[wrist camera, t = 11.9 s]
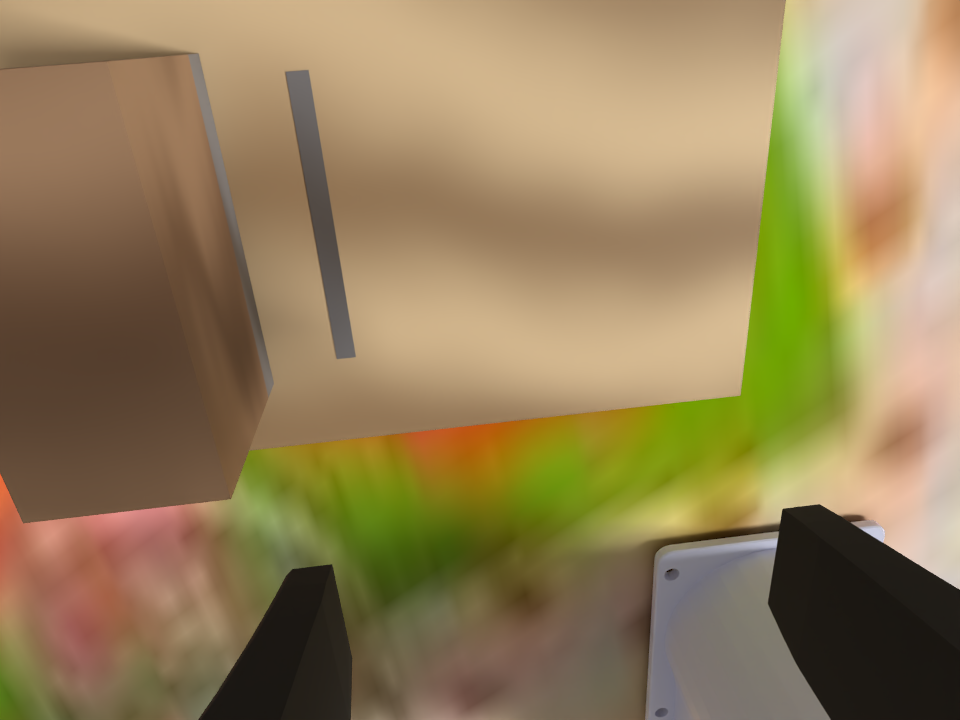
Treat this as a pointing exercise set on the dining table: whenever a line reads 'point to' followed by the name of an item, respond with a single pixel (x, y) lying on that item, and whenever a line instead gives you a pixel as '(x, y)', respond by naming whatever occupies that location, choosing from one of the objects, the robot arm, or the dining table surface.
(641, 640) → the dining table surface
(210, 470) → the block
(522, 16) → the pine board
